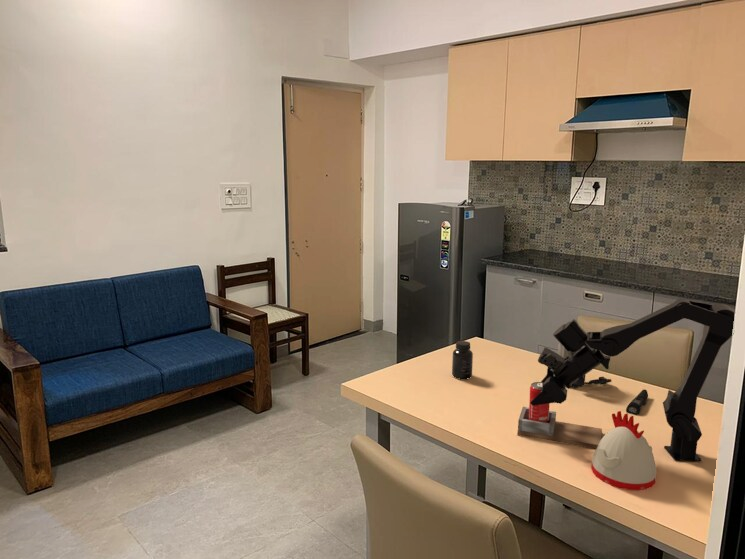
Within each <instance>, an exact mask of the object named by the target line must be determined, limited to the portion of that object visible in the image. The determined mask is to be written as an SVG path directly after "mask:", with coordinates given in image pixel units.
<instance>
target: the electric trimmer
mask: <svg viewBox="0 0 745 559" xmlns="http://www.w3.org/2000/svg"><path fill="white" fill-rule="evenodd" d="M648 398H649V393H648V390H647V389H644V388H643V389H642V390H641V391H640V392H639V393H638V394H637V395H636V396H635V397H634V398H633V399H632V400H631V401H630V402H629V404H628V405H627V406H626V410H625V412H626V414H627V413H628V415H629V414H630V415H632V416H639V415H640V413H641V409H642V406H645V405H646V404H647V401H648Z"/></svg>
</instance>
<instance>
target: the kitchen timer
mask: <svg viewBox="0 0 745 559" xmlns="http://www.w3.org/2000/svg"><path fill="white" fill-rule="evenodd" d="M611 419H612V421H613V425H614V428H612V429H610V430H609V431H608V432H606V433H605V435H604V436H602V439H601V441H600V442H599V444H598V446H597V448H596V449H595V451H594V454H593V457H592V460H591V471H592V473H593V474H594V476H595V477H596V478H597V479H599V480H600V481H601V482H604V483H605V484H607V485H609V486H611V487H615V488H618V489H621V490H622V489H623V490H627V491H643V490H644V491H645V490H649V489H650V488H652V487H653V486H654V485H655V484H656V478H657V467H656V466H657V465H656V460H655V457H654V453H653V448H652V446H651V445H649V443H648V441H647V439H646V438H645V436H643V434H644V433H645V430H644V429H643V430H641V431H638V429H639V428H638V427H639V426H640V422H637V423H634V422H635V420H634V415H631V416H629V413H627V412H626V413H625V414H624V415H623V416H622V412H621V410H619V411H617V413H611Z"/></svg>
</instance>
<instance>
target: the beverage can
mask: <svg viewBox="0 0 745 559" xmlns="http://www.w3.org/2000/svg"><path fill="white" fill-rule="evenodd" d="M542 386H543V382H541V381H536V382H532V383H530V387H529V420H532V421H539V422H545V423H549V411H550V404H551V403H548V404H541V405H534V406H533V405H532V404H531V403H530V402H531V401H532V400H533V399H534V398H535V397H536V396H537V395H538V394H539V393H540V392H541V391H542V389H543V387H542Z"/></svg>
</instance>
